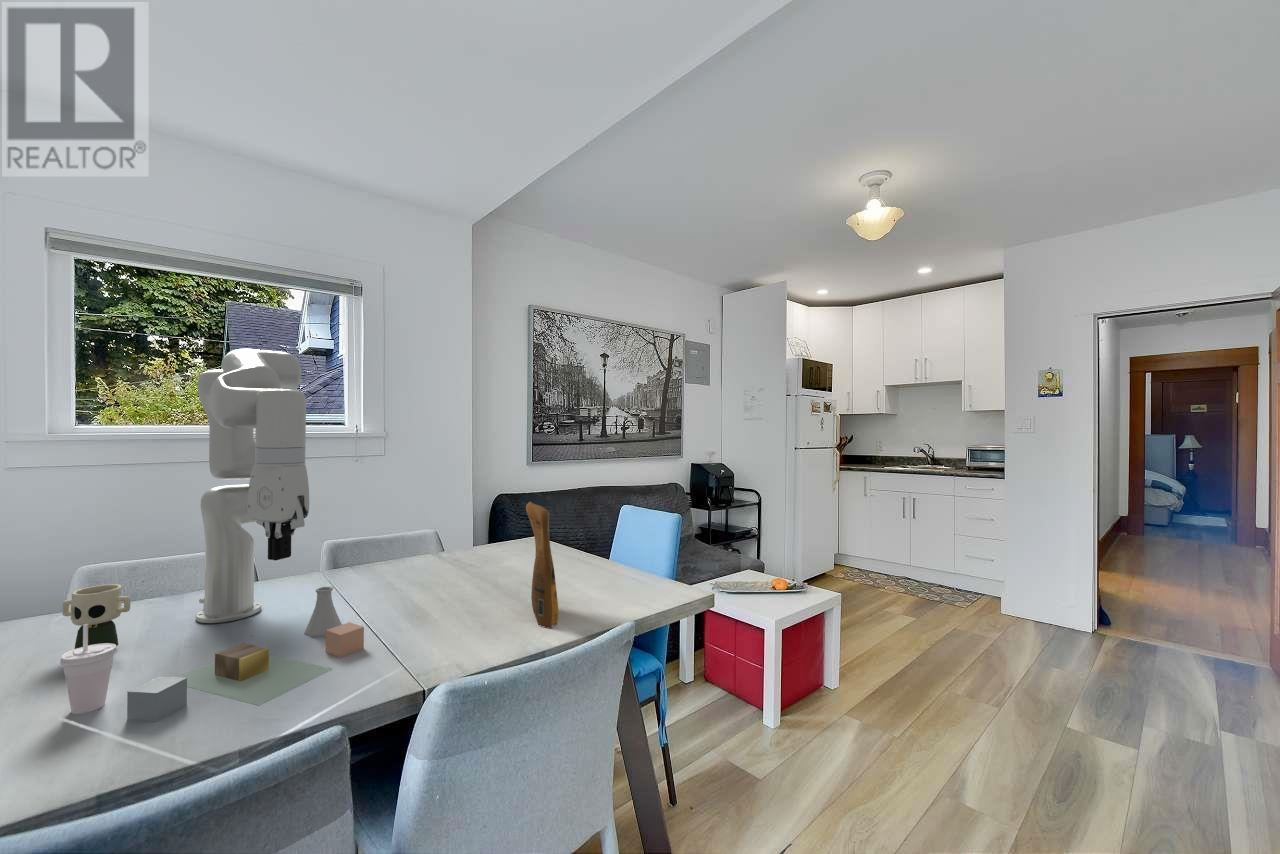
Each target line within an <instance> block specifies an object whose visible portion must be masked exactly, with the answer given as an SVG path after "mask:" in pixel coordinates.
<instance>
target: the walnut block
mask: <svg viewBox="0 0 1280 854" xmlns="http://www.w3.org/2000/svg"><path fill="white" fill-rule="evenodd" d="M269 655H270V649H269V648H268V647H263V646H258V645H254V644H249V643H244V642H242V643H240V644H237V645H234V646H232V647H229V648H226V649H223V650H220V651H217V652H215V653H214V662H215V675H216V676H220V677H225V678H229V679H233V680H237V681H244V680H246V679H248V678H250V677H253V676H255V675H257V674H260V673H262V672H264V671H266V670H269Z"/></svg>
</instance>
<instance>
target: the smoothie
mask: <svg viewBox="0 0 1280 854" xmlns="http://www.w3.org/2000/svg"><path fill="white" fill-rule="evenodd" d="M116 653H117V647H116V645H115V644H111V643H102V644H94V645H89V646H88V624H84V625H83V647H81V648H77V649H75V648H73V649H72V650H69V651H66V652H64V653H63V654H62V655H61V656H60V660H59V661H60V662H59V664H60V665H61V666H63V673H64V678H65V683H66V689H67V695H68V701H69V706H70V712H71V714H73V715H81V714H88V713H91V712H93V711H94V712H95V711H97V710H98V709H101V708H103V707H105V705H106V700H107V694H108V689H109V684H110V683H109V682H110V677H111V671H112V667H113V666H112V665H113V660H114V655H115V654H116Z"/></svg>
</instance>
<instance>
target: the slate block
mask: <svg viewBox="0 0 1280 854" xmlns="http://www.w3.org/2000/svg"><path fill="white" fill-rule="evenodd" d="M126 696H127V697H126V698H127V699H126V701H127V703H126V704H127V708H126V709H127V710H126V711H127V712H126V713H127V714H126V721H132V722H135V721H136V722H150V723H158V722H159V721H161V720H163V719H165V718H166V717H168V716H170V715H172V714H174V713H175V712H177V711H178V710H181V709H182V708H184V707H186V706H187V705H188V702H187V701H188V687H187V678H182V677H176V676H161V675H160V676H157V677H155V678H153V679H150V680H149V681H148V680H147V682H145V683H142V684H140V685H138V686H136V687H134V688H132V689H129V690H128V691H127V694H126Z"/></svg>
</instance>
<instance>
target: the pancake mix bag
mask: <svg viewBox="0 0 1280 854" xmlns="http://www.w3.org/2000/svg"><path fill="white" fill-rule="evenodd" d="M525 511H526V514H527V516H528V519H529V521H530V522H529V523H530V526H531V529H532V532H533V536H534V542H535V543H534V544H535V558H534V564H533V571H532V573H533V574H532V581H531V594H530V595H531V596H530V597H531V606H532V607H531V608H532V611H533V614H534V616H535V619H536V622H537V624H538V626H539V625H541V626H540V627H542V626H545V627H544V628H546V627H549V628H548V629H553V626H556V625H557V624H558V619H559V602H558V593H557V583H556V573H555V566H554V562H553V561H554V560H553V554H552V549H551V540H550V516H551V515H550V514H551V513H550V512H549V510H547V508H545V507H544V506H541V505H540V504H539V505H538V504H535V503H533V502H531V501H529V502H528V503H526V505H525ZM555 624H556V625H555ZM552 625H553V626H552Z"/></svg>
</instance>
